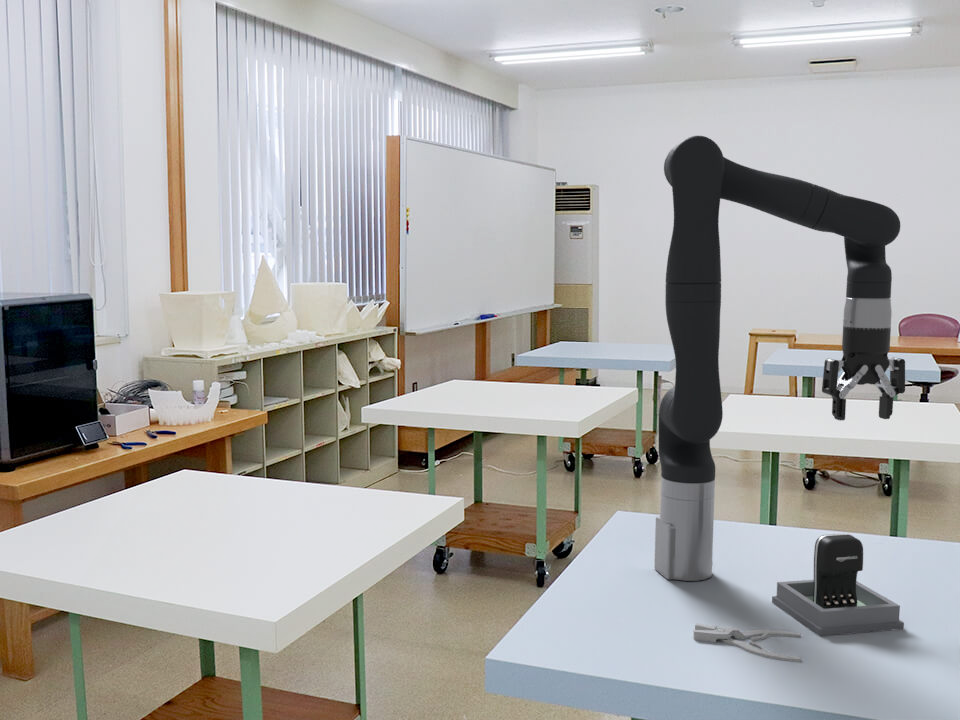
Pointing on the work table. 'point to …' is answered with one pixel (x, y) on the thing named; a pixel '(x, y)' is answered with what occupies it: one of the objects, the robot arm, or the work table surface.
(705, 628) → the pliers
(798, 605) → the tray
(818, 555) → the battery charger
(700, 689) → the work table surface
